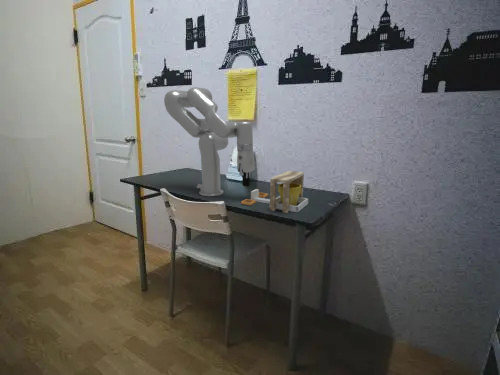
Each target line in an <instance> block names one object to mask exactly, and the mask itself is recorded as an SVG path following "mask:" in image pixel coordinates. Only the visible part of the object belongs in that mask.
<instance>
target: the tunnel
mask: <svg viewBox="0 0 500 375" xmlns="http://www.w3.org/2000/svg"><path fill="white" fill-rule="evenodd" d="M304 176H305V172H303V171H295V170H294V171H293V170H286V171H284V172H282V173H280V174H278V175H275V176H273V177H270V179H269V180H270V181H269V182H270V183H269V184H270V185H269V186H270V187H269V189H270V190H269V199H270V208H269V211H271V212H272V211H274V212H275V211H276V210H277V209H276V198H277V185H278V184H277V183H279V184H281V183H283V210H282V213H284V214H287V213H289V212H290V211H289V187H290V183H295V184H299V185H301V193H300V194H299V197H301V198H304V197H303V195H304V194H303V193H304V179H305V178H304Z"/></svg>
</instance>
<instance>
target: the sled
mask: <svg viewBox="0 0 500 375" xmlns="http://www.w3.org/2000/svg"><path fill="white" fill-rule="evenodd" d="M259 192H260V190H259V189H258V188H255V189H253V190H251V191H250V200H256V203H264V204H268V208H269V209H270V198H259ZM308 204H309V198H307V197H303V198H301V197H298V201H297V205H296V206H293V205H289V212H292V213H293V212H294V213H299V212H301V210H302V209H305V207H306V206H307V205H308ZM276 210H281V211H283V204H281V198H280V195H278V196H276Z"/></svg>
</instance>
